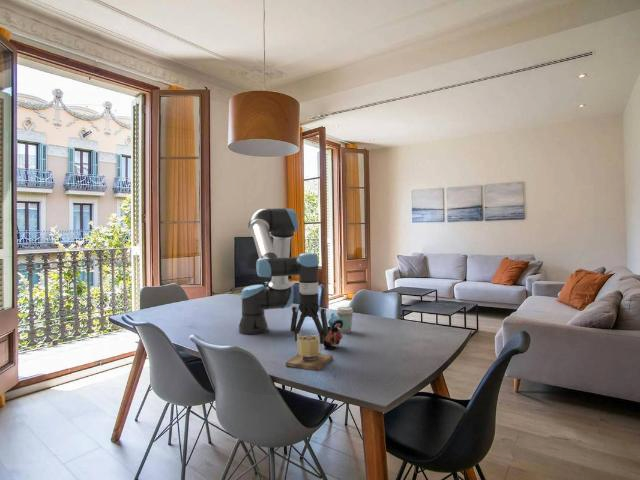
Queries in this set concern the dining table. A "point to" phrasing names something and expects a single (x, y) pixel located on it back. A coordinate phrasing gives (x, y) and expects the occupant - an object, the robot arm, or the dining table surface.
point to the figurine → (333, 333)
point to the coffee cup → (345, 318)
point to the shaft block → (309, 360)
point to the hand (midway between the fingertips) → (309, 350)
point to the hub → (308, 346)
